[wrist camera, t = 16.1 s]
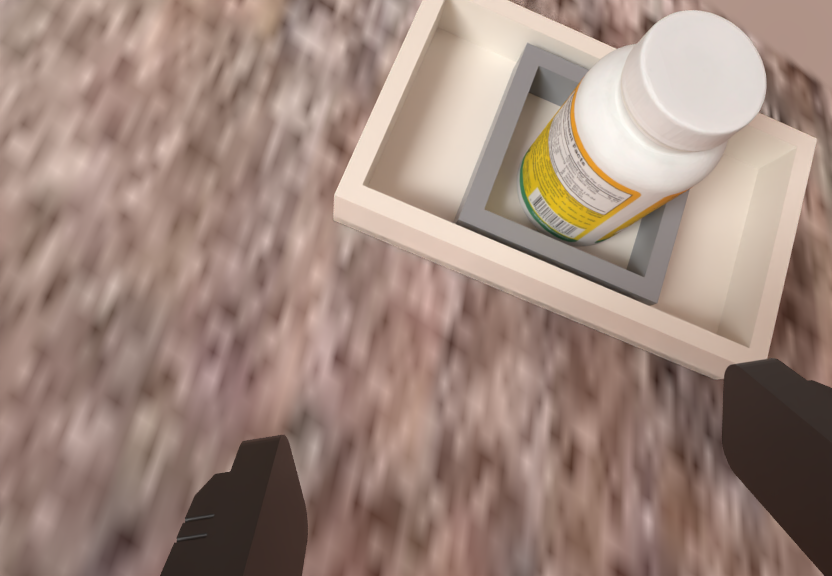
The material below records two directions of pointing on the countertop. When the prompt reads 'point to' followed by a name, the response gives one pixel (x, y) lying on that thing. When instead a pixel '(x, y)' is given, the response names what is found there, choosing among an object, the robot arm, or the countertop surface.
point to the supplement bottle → (641, 128)
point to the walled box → (521, 241)
